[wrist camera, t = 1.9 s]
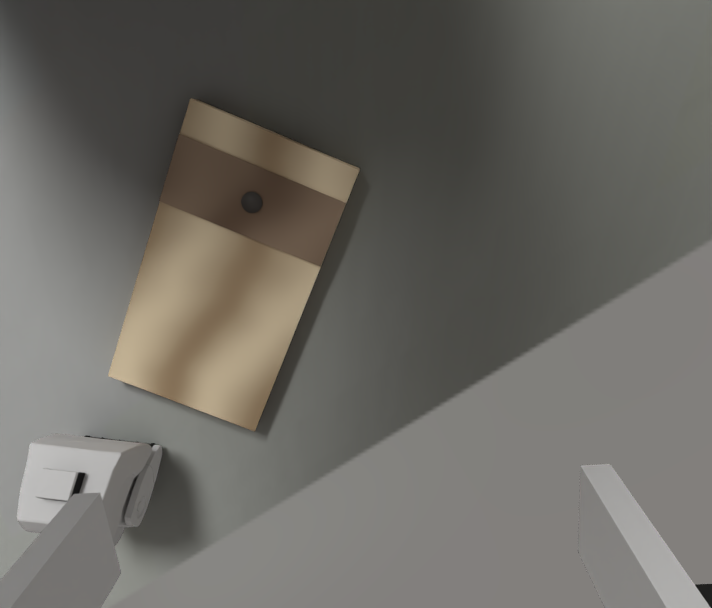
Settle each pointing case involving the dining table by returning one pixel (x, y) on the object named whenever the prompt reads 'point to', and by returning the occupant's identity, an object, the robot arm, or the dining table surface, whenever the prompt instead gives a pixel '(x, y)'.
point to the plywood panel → (229, 264)
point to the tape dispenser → (88, 479)
